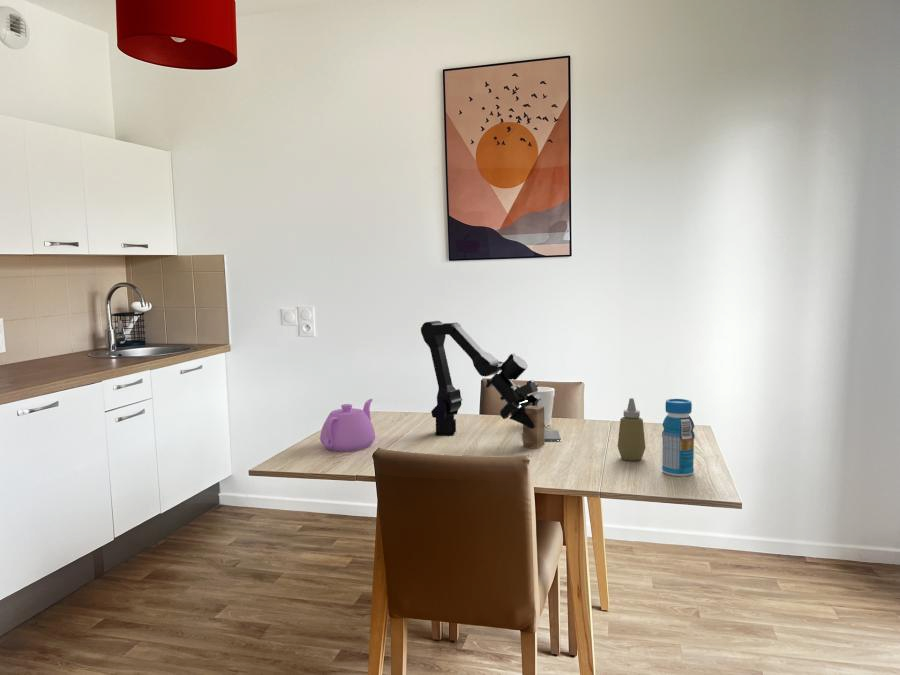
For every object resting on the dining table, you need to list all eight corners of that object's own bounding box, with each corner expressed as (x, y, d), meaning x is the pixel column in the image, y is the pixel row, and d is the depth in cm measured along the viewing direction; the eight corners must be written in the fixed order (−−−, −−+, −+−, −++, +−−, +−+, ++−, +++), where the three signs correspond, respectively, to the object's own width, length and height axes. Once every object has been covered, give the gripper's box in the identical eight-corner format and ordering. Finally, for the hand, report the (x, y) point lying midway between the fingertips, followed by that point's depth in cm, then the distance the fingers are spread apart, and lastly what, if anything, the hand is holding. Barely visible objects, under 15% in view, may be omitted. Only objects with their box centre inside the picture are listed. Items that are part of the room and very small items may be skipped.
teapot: (348, 457, 211) (347, 413, 210) (304, 451, 220) (302, 408, 219) (393, 439, 233) (392, 399, 232) (351, 434, 242) (350, 395, 240)
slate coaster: (524, 441, 227) (524, 438, 227) (523, 432, 239) (523, 430, 239) (560, 441, 226) (560, 438, 226) (558, 432, 238) (558, 430, 238)
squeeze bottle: (614, 455, 208) (614, 396, 206) (641, 454, 207) (642, 395, 206) (620, 462, 200) (620, 401, 198) (648, 462, 199) (649, 401, 198)
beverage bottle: (659, 475, 187) (660, 402, 185) (663, 467, 194) (664, 397, 192) (692, 478, 183) (693, 404, 181) (695, 470, 191) (696, 398, 189)
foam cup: (554, 421, 255) (553, 386, 254) (555, 427, 246) (555, 391, 245) (528, 421, 256) (528, 387, 255) (528, 427, 247) (528, 391, 246)
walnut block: (523, 446, 220) (522, 408, 219) (530, 443, 224) (530, 405, 223) (537, 448, 217) (537, 409, 216) (544, 445, 221) (544, 406, 220)
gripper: (507, 376, 213) (540, 415, 208) (535, 369, 228) (566, 405, 223) (486, 399, 218) (517, 438, 213) (515, 390, 233) (544, 426, 228)
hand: (537, 426), depth 219 cm, fingers open, 5 cm apart
